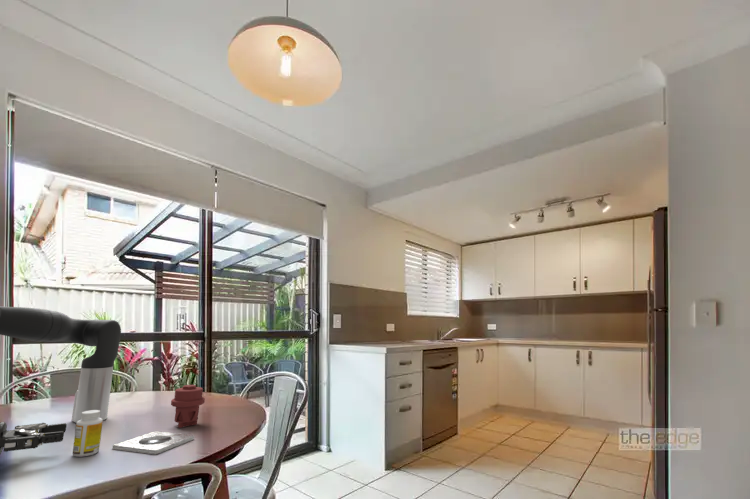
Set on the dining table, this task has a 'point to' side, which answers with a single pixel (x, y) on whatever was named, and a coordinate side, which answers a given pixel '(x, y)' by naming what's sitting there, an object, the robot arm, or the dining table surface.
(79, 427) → the supplement bottle
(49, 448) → the dining table surface
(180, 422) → the mechanical component
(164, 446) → the seat plate
